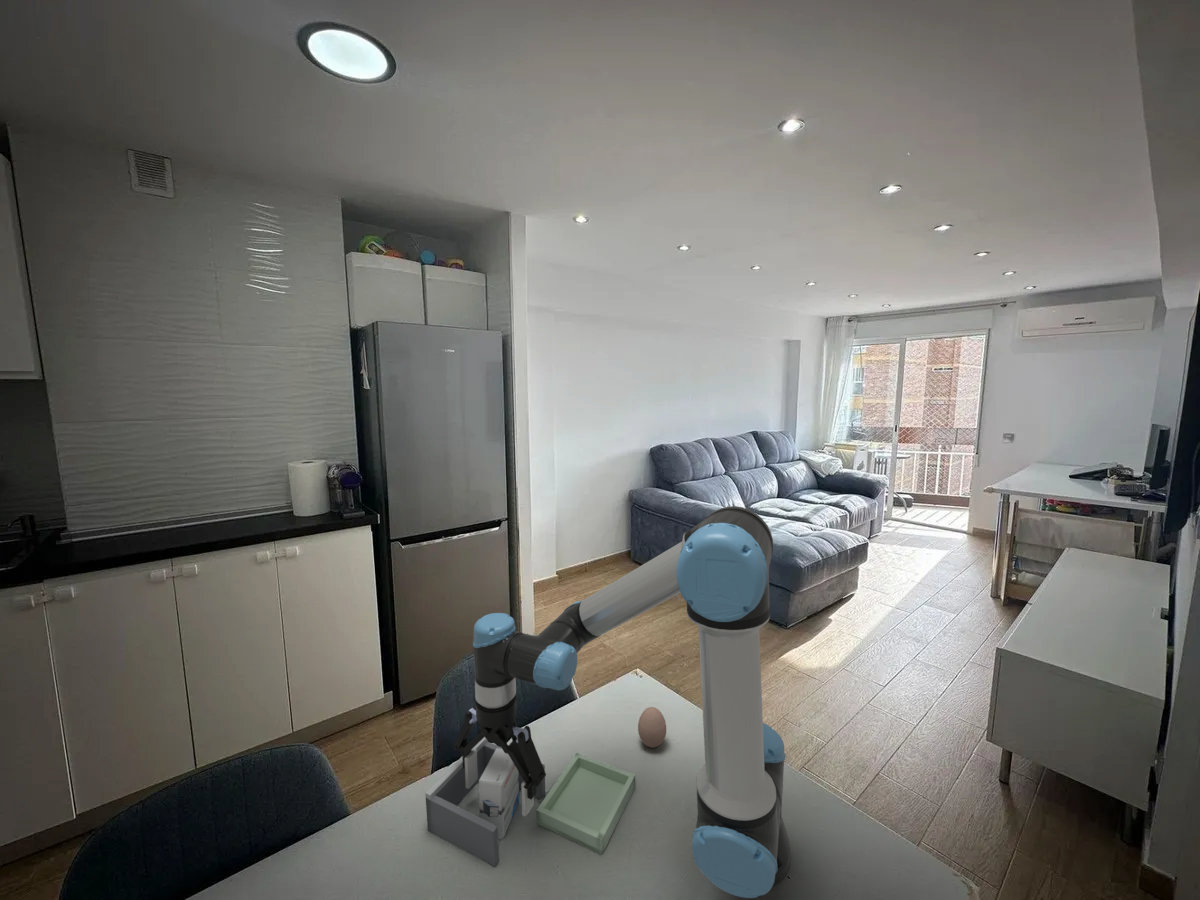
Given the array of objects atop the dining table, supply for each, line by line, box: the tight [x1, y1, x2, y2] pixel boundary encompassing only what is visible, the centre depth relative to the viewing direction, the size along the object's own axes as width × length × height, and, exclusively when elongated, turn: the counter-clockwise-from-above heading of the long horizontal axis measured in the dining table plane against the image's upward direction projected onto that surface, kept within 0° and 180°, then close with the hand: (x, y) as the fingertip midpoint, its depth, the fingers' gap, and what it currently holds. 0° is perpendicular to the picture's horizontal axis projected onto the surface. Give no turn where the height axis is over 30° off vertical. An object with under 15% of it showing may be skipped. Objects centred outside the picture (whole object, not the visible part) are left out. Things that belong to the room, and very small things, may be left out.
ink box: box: [478, 748, 520, 840], centre depth 93 cm, size 9×5×12 cm, turn 168°
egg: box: [637, 706, 667, 748], centre depth 111 cm, size 7×7×9 cm
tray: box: [535, 752, 636, 855], centre depth 96 cm, size 14×16×3 cm
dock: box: [425, 737, 546, 868], centre depth 94 cm, size 16×16×8 cm
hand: (499, 796), depth 93 cm, fingers open, 13 cm apart
